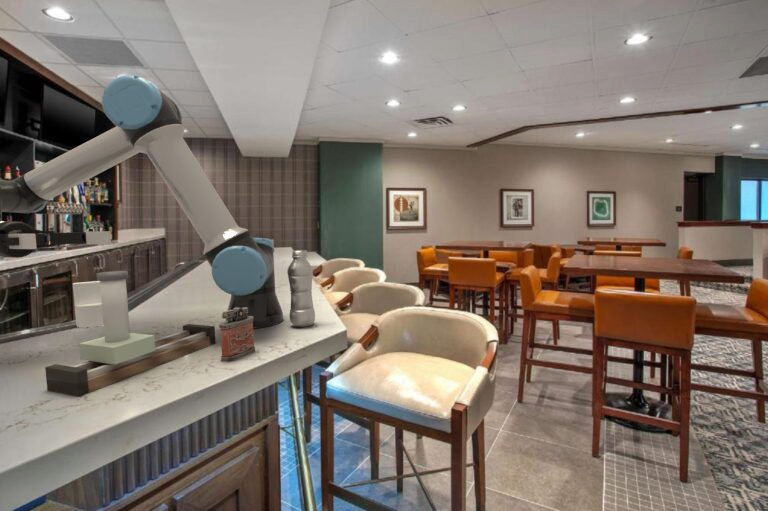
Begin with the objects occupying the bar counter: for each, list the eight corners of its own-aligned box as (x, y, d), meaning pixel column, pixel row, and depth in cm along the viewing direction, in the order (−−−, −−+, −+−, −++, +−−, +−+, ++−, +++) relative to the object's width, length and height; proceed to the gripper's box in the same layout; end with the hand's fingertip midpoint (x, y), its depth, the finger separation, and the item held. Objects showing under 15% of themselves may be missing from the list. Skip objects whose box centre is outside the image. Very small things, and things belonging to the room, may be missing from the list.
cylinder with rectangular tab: (74, 329, 111) (70, 285, 110) (78, 322, 119) (74, 281, 118) (113, 324, 116) (110, 282, 114) (115, 318, 123) (112, 278, 122)
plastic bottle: (310, 329, 105) (307, 251, 103) (285, 328, 106) (281, 251, 104) (319, 323, 111) (316, 249, 109) (295, 322, 112) (292, 249, 110)
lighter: (247, 349, 90) (245, 303, 89) (258, 350, 88) (256, 305, 87) (217, 360, 83) (214, 311, 82) (229, 362, 81) (226, 313, 80)
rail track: (189, 340, 97) (188, 323, 97) (215, 343, 95) (214, 326, 94) (47, 390, 70) (45, 367, 69) (78, 396, 67) (76, 372, 66)
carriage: (122, 346, 82) (116, 269, 81) (155, 350, 79) (149, 270, 78) (80, 359, 75) (73, 274, 74) (115, 364, 72) (107, 276, 70)
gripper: (72, 252, 98) (135, 253, 91) (-74, 263, 75) (-5, 265, 67) (69, 221, 98) (133, 219, 90) (-78, 222, 74) (-9, 220, 67)
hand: (74, 239), depth 79 cm, fingers open, 13 cm apart
